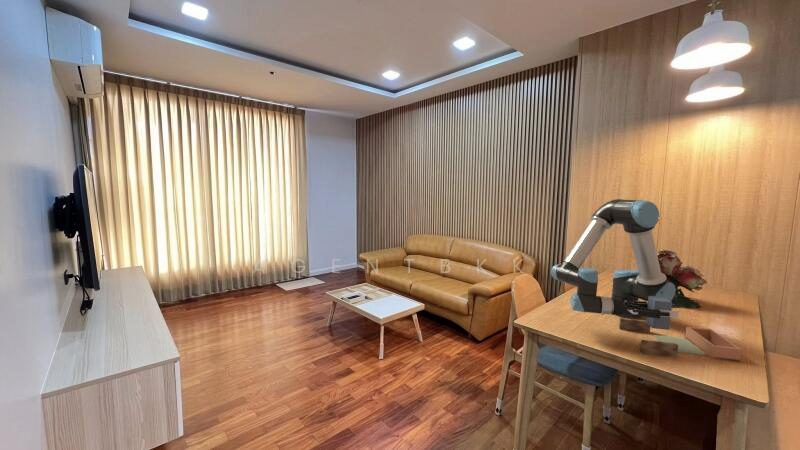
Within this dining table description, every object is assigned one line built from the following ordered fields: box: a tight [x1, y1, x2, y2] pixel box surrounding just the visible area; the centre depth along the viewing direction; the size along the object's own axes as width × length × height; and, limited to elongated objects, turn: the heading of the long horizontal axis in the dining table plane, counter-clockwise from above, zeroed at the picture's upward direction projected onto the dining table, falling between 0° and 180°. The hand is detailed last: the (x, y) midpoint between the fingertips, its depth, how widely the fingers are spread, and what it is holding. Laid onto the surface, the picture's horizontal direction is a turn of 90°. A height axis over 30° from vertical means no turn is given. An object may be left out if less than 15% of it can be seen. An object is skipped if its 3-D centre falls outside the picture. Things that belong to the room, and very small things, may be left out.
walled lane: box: [618, 317, 679, 358], centre depth 141 cm, size 12×24×5 cm, turn 165°
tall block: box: [645, 296, 673, 331], centre depth 137 cm, size 6×6×12 cm
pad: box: [653, 334, 707, 356], centre depth 138 cm, size 12×14×1 cm
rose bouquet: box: [657, 249, 708, 309], centre depth 190 cm, size 26×29×30 cm
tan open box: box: [685, 326, 742, 362], centre depth 135 cm, size 9×18×5 cm, turn 165°
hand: (673, 311), depth 136 cm, fingers closed on tall block, 6 cm apart
